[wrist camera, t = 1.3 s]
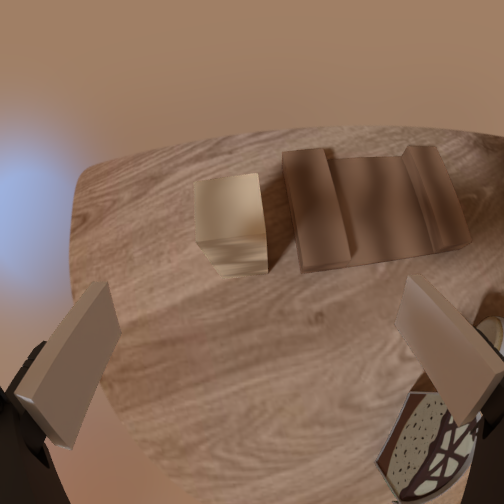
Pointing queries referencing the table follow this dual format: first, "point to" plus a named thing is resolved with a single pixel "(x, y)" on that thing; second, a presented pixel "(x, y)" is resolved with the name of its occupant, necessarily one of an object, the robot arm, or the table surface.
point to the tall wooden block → (231, 225)
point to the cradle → (371, 208)
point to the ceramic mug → (494, 331)
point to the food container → (425, 450)
